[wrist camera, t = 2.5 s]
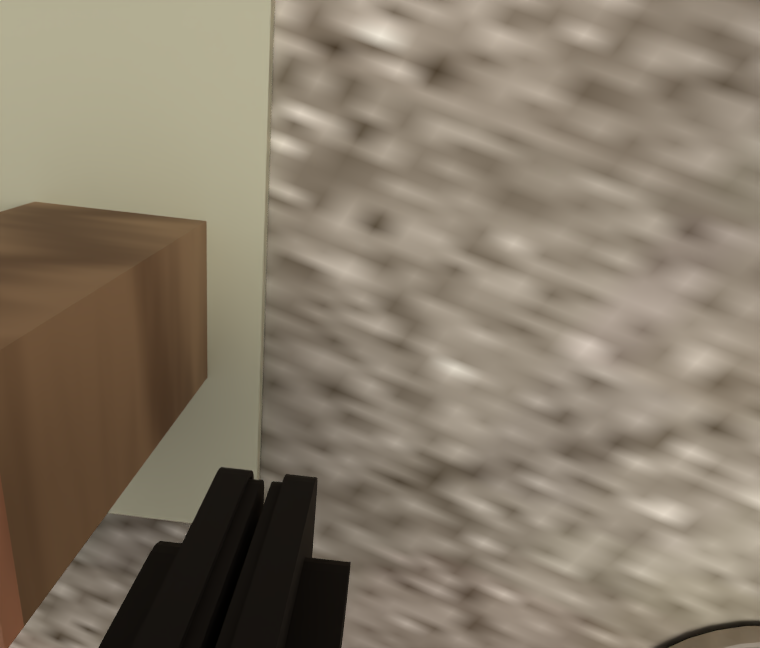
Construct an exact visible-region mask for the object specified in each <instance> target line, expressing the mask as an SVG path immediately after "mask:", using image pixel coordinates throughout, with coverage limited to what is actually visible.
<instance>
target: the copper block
mask: <svg viewBox="0 0 760 648" xmlns="http://www.w3.org/2000/svg"><path fill="white" fill-rule="evenodd" d="M206 379H207V221H202V220H193V219H184V218H175V217H166V216H158V215H149V214H140V213H131V212H122V211H114V210H105V209H96V208H87V207H78V206H70V205H61V204H52V203H43V202H32V203H28V204H25V205H21V206H18V207H15V208H11V209H8V210H5V211H1V212H0V648H8V647H9V646H10V645H11V643H12V642H13V641H14V639H15V638H16V637H17V635H18V634H19V633H20V631H21V630H22V628H23V627H24V626H25V624H26V623H27V622H28V620H29V619H30V618H31V616H32V615H33V614H34V612H35V611H36V609H37V608H38V607H39V605H40V604H41V603H42V601H43V600H44V599H45V597H46V596H47V595H48V593H49V592H50V590H51V589H52V588H53V586H54V585H55V584H56V582H57V581H58V580H59V578H60V577H61V576H62V574H63V573H64V571H65V570H66V569H67V567H68V566H69V565H70V563H71V562H72V561H73V559H74V558H75V557H76V555H77V554H78V552H79V551H80V550H81V548H82V547H83V546H84V544H85V543H86V542H87V540H88V539H89V538H90V536H91V535H92V533H93V532H94V531H95V529H96V528H97V527H98V525H99V524H100V523H101V521H102V520H103V519H104V517H105V516H106V514H107V513H108V512H109V510H110V509H111V508H112V506H113V505H114V504H115V502H116V501H117V500H118V498H119V497H120V495H121V494H122V493H123V491H124V490H125V489H126V487H127V486H128V485H129V483H130V482H131V481H132V479H133V478H134V476H135V475H136V474H137V472H138V471H139V470H140V468H141V467H142V466H143V464H144V463H145V461H146V460H147V459H148V457H149V456H150V455H151V453H152V452H153V451H154V449H155V448H156V447H157V445H158V444H159V442H160V441H161V440H162V438H163V437H164V436H165V434H166V433H167V432H168V430H169V429H170V428H171V426H172V425H173V423H174V422H175V421H176V419H177V418H178V417H179V415H180V414H181V413H182V411H183V410H184V409H185V407H186V406H187V404H188V403H189V402H190V400H191V399H192V398H193V396H194V395H195V394H196V392H197V391H198V390H199V388H200V387H201V385H202V384H203V383H204V381H205V380H206Z"/></svg>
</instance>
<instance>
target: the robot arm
mask: <svg viewBox="0 0 760 648" xmlns="http://www.w3.org/2000/svg"><path fill="white" fill-rule="evenodd" d="M316 495H317V478H316V477H307V476H298V475H289V474H286V475H285V477H284V480H283V482H274V481H273V482H272V483H271V485H270V488H269V491H268V494H267V497H266V500H265V503H264V481H263V480H256V479H254V474H253V471H252V470H244V469H235V468H226V467H220V468H219V470H218V471H217V473H216V475H215V477H214V479H213V481H212V483H211V485H210V487H209V489H208V491H207V493H206V496H205V498H204V500H203V502H202V504H201V506H200V508H199V510H198V512H197V514H196V516H195V518H194V520H193V522H192V524H191V526H190V528H189V530H188V533H187V535H186V537H185V539H184V541H183V543H173V542H164V541H159V542H158V543H157V544H156V545H155V546H154V548H153V549H152V551H151V552H150V554H149V556H148V558H147V559H146V561H145V563H144V565H143V567H142V569H141V571H140V572H139V574H138V576H137V578H136V580H135V582H134V583H133V585H132V587H131V589H130V591H129V593H128V594H127V596H126V598H125V600H124V602H123V604H122V605H121V607H120V609H119V611H118V613H117V615H116V616H115V618H114V620H113V622H112V624H111V626H110V627H109V629H108V631H107V633H106V635H105V637H104V639H103V640H102V642H101V644H100V646H99V648H341V646H342V638H343V629H344V620H345V611H346V602H347V593H348V583H349V574H350V563H351V562H343V561H334V560H325V559H316V558H312V551H313V537H314V523H315V509H316ZM263 505H264V506H263ZM668 648H760V626H742V627H735V628H729V629H722V630H716V631H712V632H709V633H705V634H702V635H698V636H695V637H692V638H688V639H686V640H684V641H682V642H679V643H677V644H675V645H673V646H670V647H668Z"/></svg>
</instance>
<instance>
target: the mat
mask: <svg viewBox="0 0 760 648" xmlns="http://www.w3.org/2000/svg"><path fill="white" fill-rule="evenodd" d="M274 10H275V0H0V212H1V211H5V210H8V209H11V208H15V207H18V206H21V205H25V204H28V203H32V202H43V203H52V204H61V205H70V206H78V207H87V208H96V209H105V210H114V211H122V212H131V213H140V214H149V215H158V216H166V217H175V218H184V219H193V220H202V221H207V379H206V380H205V381H204V383H203V384H202V385H201V387H200V388H199V390H198V391H197V392H196V394H195V395H194V396H193V398H192V399H191V400H190V402H189V403H188V404H187V406H186V407H185V409H184V410H183V411H182V413H181V414H180V415H179V417H178V418H177V419H176V421H175V422H174V423H173V425H172V426H171V428H170V429H169V430H168V432H167V433H166V434H165V436H164V437H163V438H162V440H161V441H160V442H159V444H158V445H157V447H156V448H155V449H154V451H153V452H152V453H151V455H150V456H149V457H148V459H147V460H146V461H145V463H144V464H143V466H142V467H141V468H140V470H139V471H138V472H137V474H136V475H135V476H134V478H133V479H132V481H131V482H130V483H129V485H128V486H127V487H126V489H125V490H124V491H123V493H122V494H121V495H120V497H119V498H118V500H117V501H116V502H115V504H114V505H113V506H112V508H111V509H110V510H109V512H108V513H112V514H120V515H128V516H136V517H144V518H152V519H160V520H168V521H176V522H184V523H192V522H193V520H194V518H195V516H196V514H197V512H198V510H199V508H200V506H201V504H202V502H203V500H204V498H205V496H206V493H207V491H208V489H209V487H210V485H211V483H212V481H213V479H214V477H215V475H216V473H217V471H218V470H219V468H220V467H226V468H235V469H244V470H252V471H253V474H254V479H256V480H260V453H261V421H262V390H263V358H264V326H265V295H266V263H267V232H268V200H269V168H270V137H271V105H272V73H273V42H274Z"/></svg>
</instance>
